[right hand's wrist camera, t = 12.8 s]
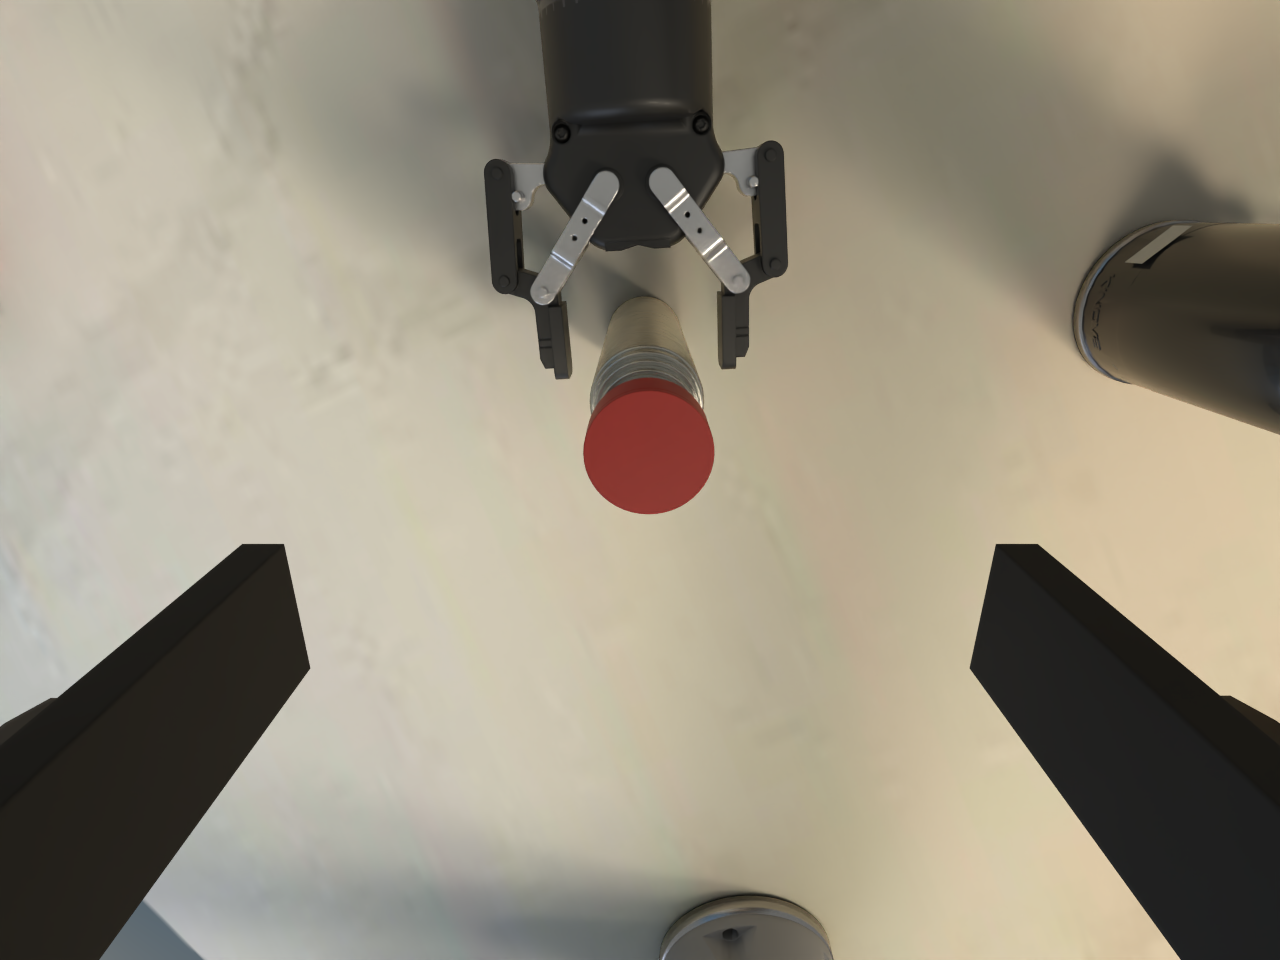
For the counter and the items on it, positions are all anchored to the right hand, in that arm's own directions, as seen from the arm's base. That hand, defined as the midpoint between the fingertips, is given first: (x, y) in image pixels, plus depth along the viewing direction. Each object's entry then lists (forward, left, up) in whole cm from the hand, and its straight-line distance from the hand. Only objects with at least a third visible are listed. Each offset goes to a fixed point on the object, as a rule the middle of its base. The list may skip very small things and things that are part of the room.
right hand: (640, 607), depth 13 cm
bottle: (0, 0, -31) cm, 31 cm away
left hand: (-1, +1, -24) cm, 24 cm away
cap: (0, 0, -8) cm, 9 cm away
